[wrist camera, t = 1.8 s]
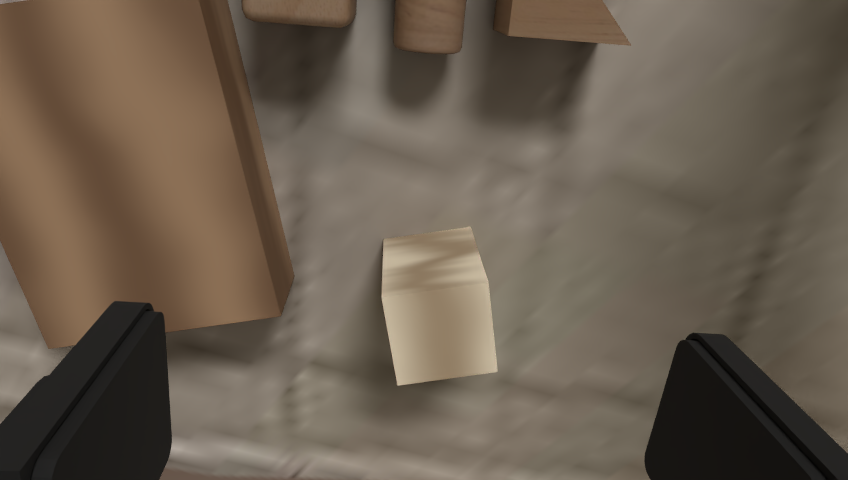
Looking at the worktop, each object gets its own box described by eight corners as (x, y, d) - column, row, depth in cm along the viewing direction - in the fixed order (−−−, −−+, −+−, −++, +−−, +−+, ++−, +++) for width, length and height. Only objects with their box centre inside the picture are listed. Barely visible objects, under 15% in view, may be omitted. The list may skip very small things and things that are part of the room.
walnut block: (223, -23, 29) (192, -24, 24) (295, 272, 35) (280, 316, 31) (-22, 13, 29) (-100, 18, 25) (93, 301, 35) (48, 348, 31)
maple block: (470, 226, 34) (488, 282, 28) (478, 303, 36) (497, 371, 30) (383, 239, 34) (381, 297, 28) (396, 314, 36) (397, 385, 30)
